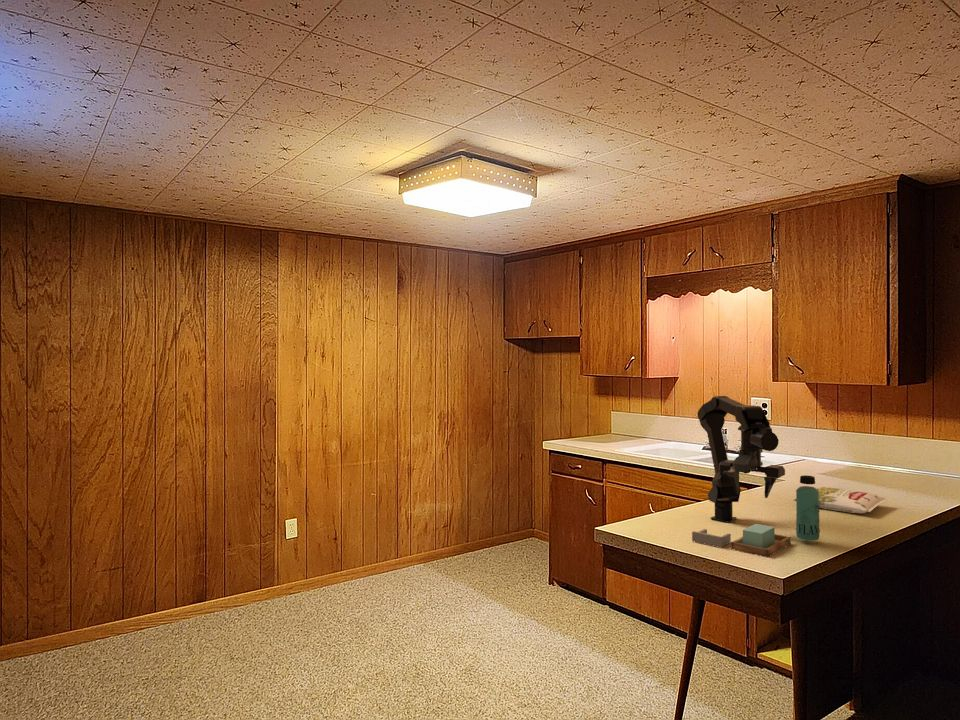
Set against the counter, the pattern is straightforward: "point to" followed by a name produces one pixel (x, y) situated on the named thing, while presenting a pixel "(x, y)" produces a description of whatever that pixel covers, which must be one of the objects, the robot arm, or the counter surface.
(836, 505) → the frozen beans
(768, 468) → the robot arm
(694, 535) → the dock
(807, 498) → the beverage bottle
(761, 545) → the mint rectangular block
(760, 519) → the counter surface
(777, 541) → the tray
